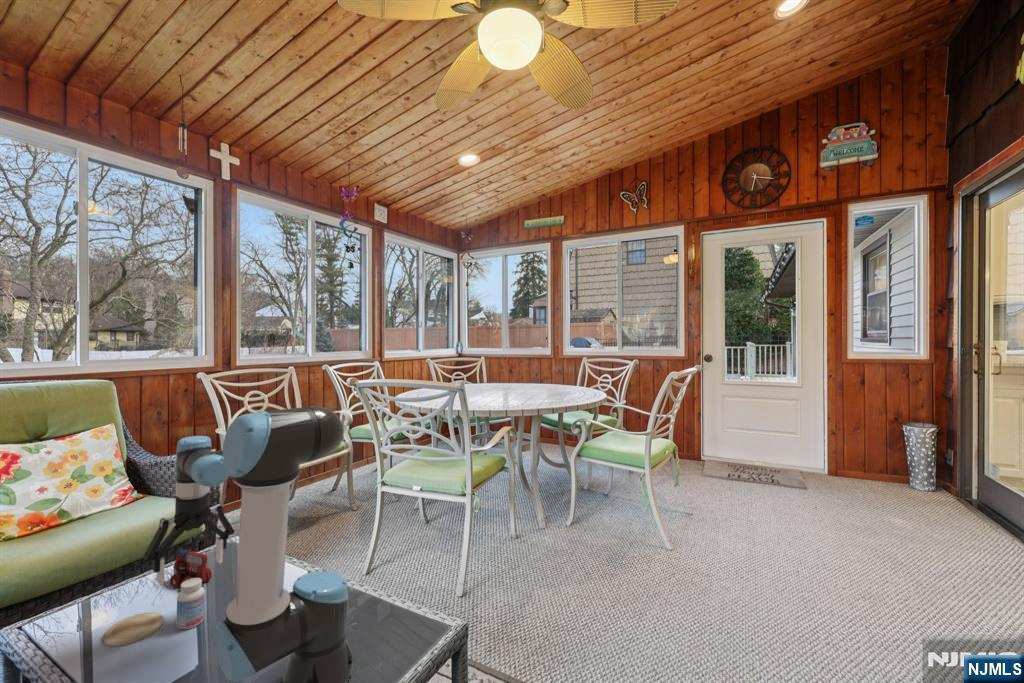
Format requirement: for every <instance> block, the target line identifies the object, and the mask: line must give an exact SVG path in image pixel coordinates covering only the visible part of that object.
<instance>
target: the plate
mask: <svg viewBox="0 0 1024 683" xmlns="http://www.w3.org/2000/svg"><path fill="white" fill-rule="evenodd" d="M163 623H164V616H163V615H162V614H161V613H158V612H143V613H138V614H134V615H131V616H127V617H125V618H123V619H121V620H120V621H119V620H118V621H117V622H116V623H114V624H113V625H111V626H110V627H109V628H108V629H107V630H106V631H105V632H104V634H103V636H102V637H103V643H104V645H106V646H108V647H109V646H110V647H121V646H127V645H130V644H135V643H137V642H139V641H140V642H141V641H142V640H144V639H146V638H148V637H150V636H152V635H153V634H154V633H156V632H158V630H159V629H160V628H161V627H162V625H163Z"/></svg>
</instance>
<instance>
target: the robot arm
mask: <svg viewBox="0 0 1024 683" xmlns="http://www.w3.org/2000/svg"><path fill="white" fill-rule="evenodd" d="M344 434H345V428H344V424H343V422H342V419H341V418H340V417H339V415H337V413H335V411H332V410H331V409H329V408H326V407H323V406H317V405H311V406H309V405H308V406H303V407H293V408H284V409H283V408H282V409H275V410H274V409H273V410H259V411H257V412H251V413H246V414H242V415H240V416H237V417H235V419H234V420H233V421H232V422H231V423H230V424H229V426H228V428H227V430H226V433H225V435H224V439H223V445H222V449H220V450H216V451H215V450H212V448H213V446H212V439H211V438H210V437H209V436H206V435H192V436H186V437H183V438H180V439H179V440H178V441H177V443H176V445H177V446H176V452H175V454H176V456H175V457H176V458H175V459H176V462H175V464H176V467H175V474H176V475H175V477H176V478H175V496H176V497H175V501H174V503H175V506H174V507H175V508H174V510H175V511H174V512H175V513H174V516H173V517H171V518H165V517H162V518H161V519H160V520H159V524H158V525H159V526H158V528H157V530H156V532H155V533H154V535H153V538H152V539H151V541H150V542H149V545H148V547H147V548H146V550H145V552H144V554H143V556H142V557H143V558H144V560H146V561H147V562H151V561H152V571H153V572H154V574H156V582H157V583H158V584H159V585H160V586H162V585H164V584H165V558H164V555H165V554H166V553H167V551H168V550H169V549H170V548H171V547H172V545H173V544H174V543H175V542H176V541H177V539H178V538H179V537H180V536H181V535H183V533H184V532H190V531H192V530H193V529H194V530H195V529H199V528H201V527H202V526H203V525H204V526H206V527H207V528H208V529H210V530H211V531H212V532H214V533H215V534H216V535H218V537H216V538H215V561H216V562H218V564H222V563H224V562H223V561H224V560H223V558H224V550H226V549H227V546H228V545H227V544H228V543H227V542H228V541H227V540H228V539H229V538H230V536H231V535H233V534H234V533H235V529H234V527H232V525H231V523H230V522H229V519H228V518H227V516H226V515H225V514H224V509H223V506H222V505H221V504H219V503H216V504H214V506H211V507H210V503H211V502H210V499H211V498H210V497H211V496H210V495H211V494H210V491H211V487H217V486H219V485H220V484H223V483H224V482H225V481H226V480H227V479H231V478H232V479H233V483H235V485H237V486H238V487H240V488H241V500H240V501H241V503H240V518H239V519H240V521H239V537H238V553H237V554H238V555H237V568H236V569H237V571H236V572H237V574H236V587H235V588H236V590H235V591H236V592H235V597H234V598H233V599H232V600H231V601H230V602H229V603H228V606H227V607H226V610H225V612H226V613H225V620H221V621H219V622H218V623H217V624H215V626H214V628H213V630H212V640H213V646H214V652H215V654H216V657H217V662H218V663H219V666H220V668H221V671H222V672H223V675H224V676H225V678H226V679H227V680H228V681H231V682H234V683H238V682H240V681H242V680H244V679H247V678H249V677H251V676H254V675H255V676H256V674H257V673H259V672H260V671H262V670H264V669H266V668H267V667H270V666H271V665H273V664H274V663H276V662H278V661H280V660H282V659H284V658H286V657H287V656H288V659H287V663H286V667H285V668H284V671H283V675H282V683H345V682H346V681H347V680H348V679H349V677H350V676H351V673H352V674H353V672H352V670H353V671H354V656H353V653H352V650H351V647H350V644H349V641H348V639H347V628H348V626H347V621H348V620H347V619H348V599H349V592H348V591H349V590H348V582H347V580H346V578H345V577H344V576H342V575H341V574H340V573H337V572H335V571H324V570H320V571H312V572H308V573H305V574H303V575H301V576H299V577H298V578H297V579H296V580H295V581H294V583H293V585H292V591H290V592H289V591H288V590H287V589H286V588H284V583H285V567H286V566H285V565H286V551H287V550H286V549H287V538H288V536H287V534H288V523H289V522H288V520H289V519H288V518H289V507H290V505H289V504H290V492H291V491H290V488H291V484H292V483H293V482H294V481H296V480H297V479H298V478H299V474H300V465H301V464H303V463H306V462H311V461H317V460H319V459H321V458H324V457H326V456H329V455H331V454H332V453H333V452H335V451H336V450H337V449H338V448H339V446H340V445H341V443H342V441H343V440H344ZM211 513H212V514H214V515H215V516H216V517H217V518H218V521H219V522H220V524H221V525H222V526H223V528H224V529H225V530H224V531H223V530H221V529H220V528H219V527H217V526H216V525H215V524H213V523H212V522H211V521H210V520H208V518H209V516H210V515H211ZM173 523H174V524H175V525H174V526H173V528H171V526H172V524H173ZM169 528H171V531H170V533H169V534H168V535H167V533H168V529H169ZM166 535H167V537H166V538H165V536H166ZM164 538H165V539H164ZM351 677H352V676H351ZM349 680H350V679H349Z"/></svg>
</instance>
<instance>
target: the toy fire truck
mask: <svg viewBox="0 0 1024 683" xmlns="http://www.w3.org/2000/svg"><path fill="white" fill-rule="evenodd" d="M207 563H208V555H207V554H205V553H200V552H195V551H188V550H187V549H182V550H181V551H180V552H179V554H178V555H177V557H176V559H175V562H174V564H173V574H172V575H171V576H170V578H169V583H170V586H171V587H172V588H174V589H177V588H179V587H181V584H182V583H183V582H184V581H186V580H188V579H191V578H200V579H201V580H202V584H203V583H207V582H208V581H210V580H211V579H212V576H213V574H212V570H211V569H210V568H208V567H207Z"/></svg>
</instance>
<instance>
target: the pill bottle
mask: <svg viewBox="0 0 1024 683" xmlns="http://www.w3.org/2000/svg"><path fill="white" fill-rule="evenodd" d="M202 584H203V583H202V580H201V579H200V578H191V579H188V580H186V581H184V582H183V583H182V584H181V586H180V592H179V593H178V594H177V597H176V620H175V621H176V624H175V625H176V628H177V629H179V630H190V629H193V628H195V627H197V626H199V625H201V623H202V622H203V621H204V619H205V588H204V587H203V586H202Z"/></svg>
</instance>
